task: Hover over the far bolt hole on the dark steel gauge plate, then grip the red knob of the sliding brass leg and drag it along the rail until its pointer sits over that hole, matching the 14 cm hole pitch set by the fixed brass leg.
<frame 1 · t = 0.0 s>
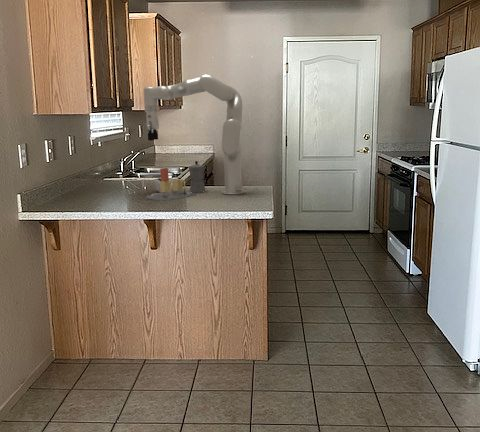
hand: (153, 139, 311), 31 cm above the worktop, tool pointing down, fingers open, 9 cm apart
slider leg: (167, 181, 302), point 9 cm above the worktop, slide at 9.0 cm
gauge plate: (171, 196, 305), on the worktop
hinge: (163, 193, 322), on the worktop
coffeepot: (197, 191, 323), on the worktop
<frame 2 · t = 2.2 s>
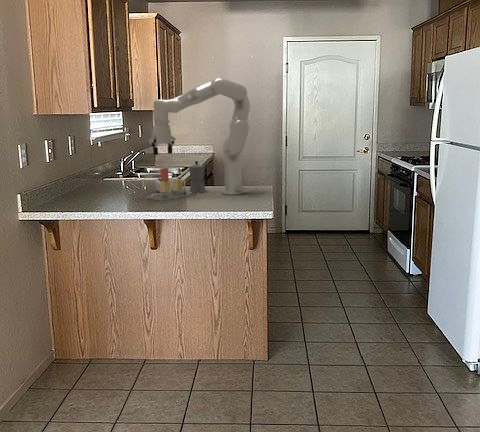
hand: (163, 154, 301), 24 cm above the worktop, tool pointing down, fingers open, 9 cm apart
nothing on the worktop moved.
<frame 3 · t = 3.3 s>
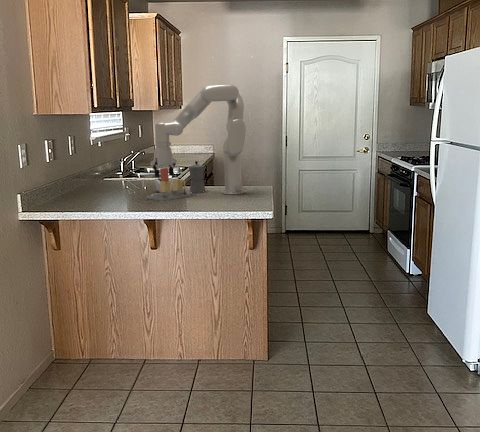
hand: (164, 176, 303), 12 cm above the worktop, tool pointing down, fingers open, 9 cm apart
nothing on the worktop moved.
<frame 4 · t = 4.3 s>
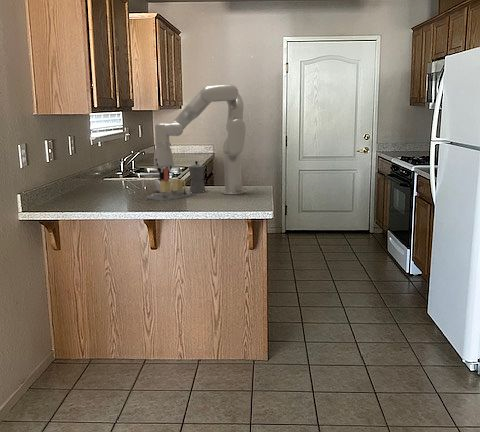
hand: (164, 178, 304), 10 cm above the worktop, tool pointing down, fingers closed on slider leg, 3 cm apart
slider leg: (167, 181, 302), point 9 cm above the worktop, slide at 9.0 cm, touching gripper
everything else where it was.
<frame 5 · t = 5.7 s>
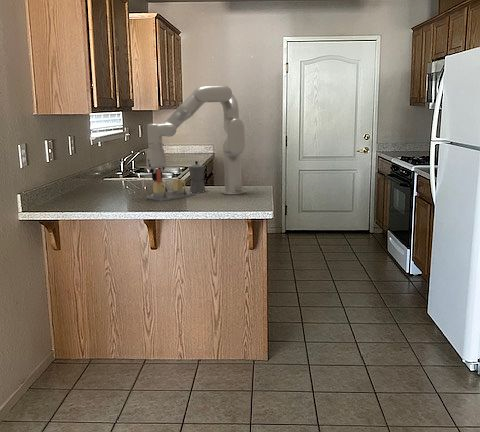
hand: (157, 179, 300), 10 cm above the worktop, tool pointing down, fingers closed on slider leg, 3 cm apart
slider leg: (160, 182, 299), point 9 cm above the worktop, slide at 14.0 cm, touching gripper
everything else where it was.
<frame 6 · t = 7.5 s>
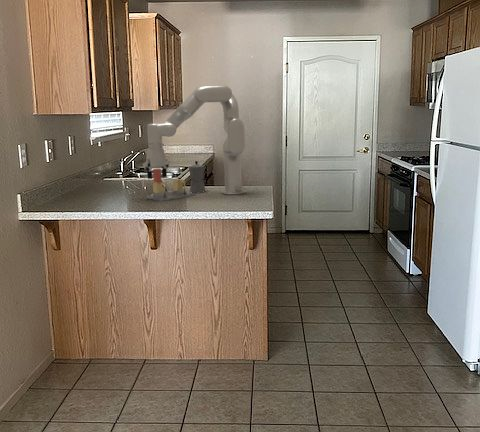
hand: (157, 177, 300), 11 cm above the worktop, tool pointing down, fingers open, 9 cm apart
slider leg: (159, 182, 299), point 9 cm above the worktop, slide at 14.0 cm
everything else where it was.
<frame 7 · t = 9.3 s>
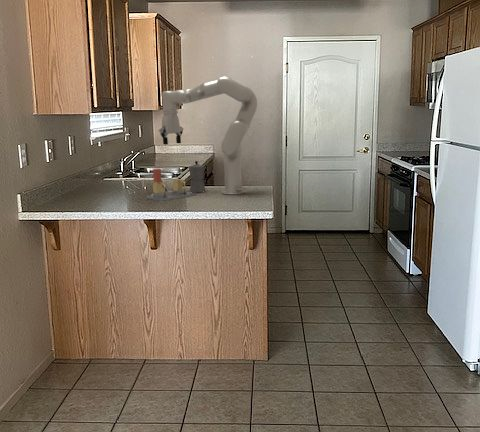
hand: (172, 143, 312), 29 cm above the worktop, tool pointing down, fingers open, 9 cm apart
nothing on the worktop moved.
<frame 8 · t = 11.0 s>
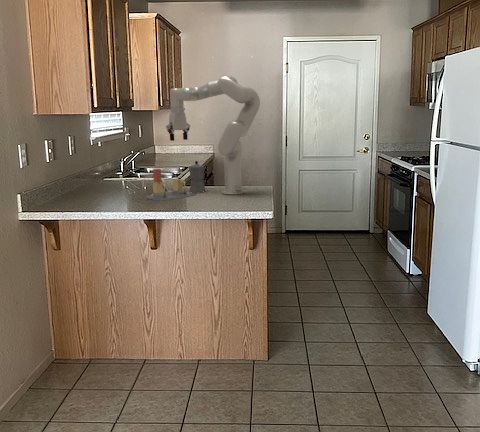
hand: (178, 140, 318), 30 cm above the worktop, tool pointing down, fingers open, 9 cm apart
nothing on the worktop moved.
at the end: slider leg slide at 14.0 cm; the gripper is holding nothing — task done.
